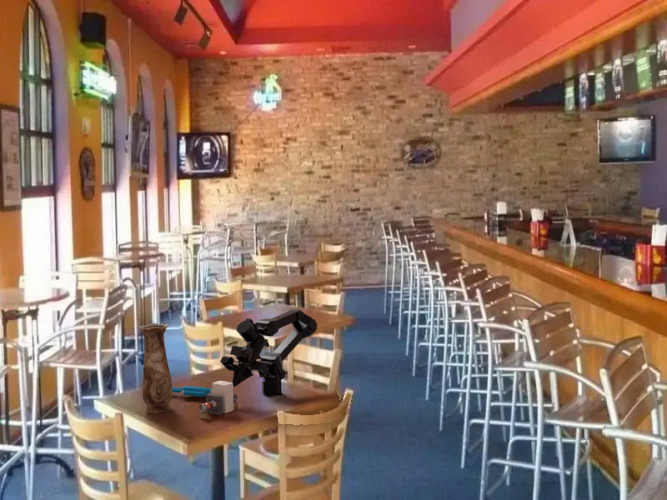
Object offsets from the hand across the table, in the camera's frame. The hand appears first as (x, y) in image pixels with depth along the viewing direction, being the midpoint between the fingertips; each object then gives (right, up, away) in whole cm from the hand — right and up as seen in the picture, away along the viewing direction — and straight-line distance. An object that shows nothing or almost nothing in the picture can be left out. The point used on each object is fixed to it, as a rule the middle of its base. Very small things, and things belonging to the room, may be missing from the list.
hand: (233, 386), depth 283 cm
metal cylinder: (-4, -8, -5) cm, 11 cm away
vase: (-26, -8, -1) cm, 28 cm away
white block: (-3, -8, -4) cm, 9 cm away
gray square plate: (-6, -8, -7) cm, 12 cm away
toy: (-16, -7, +15) cm, 23 cm away
